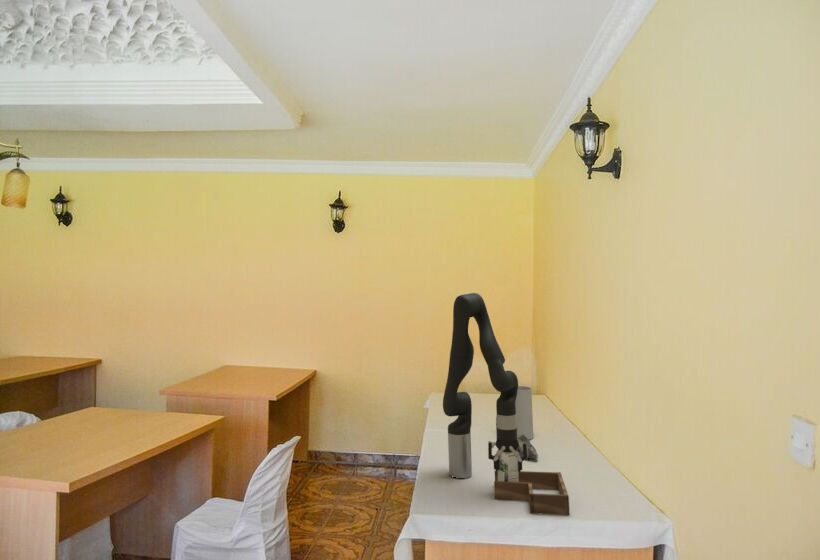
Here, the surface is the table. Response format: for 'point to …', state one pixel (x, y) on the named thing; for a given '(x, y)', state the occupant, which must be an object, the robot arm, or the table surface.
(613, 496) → the table surface
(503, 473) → the syrup box
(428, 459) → the table surface
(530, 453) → the mineral rock
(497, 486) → the walnut corridor
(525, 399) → the cylinder vase
